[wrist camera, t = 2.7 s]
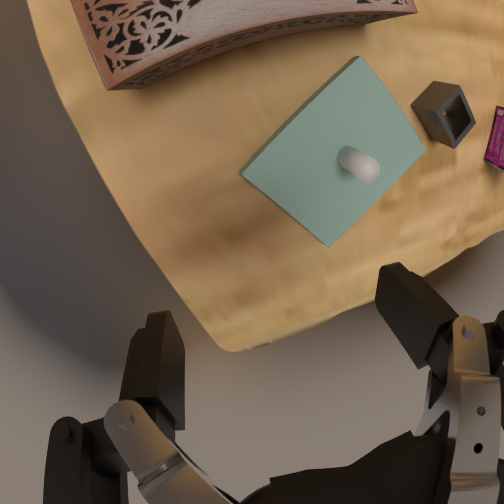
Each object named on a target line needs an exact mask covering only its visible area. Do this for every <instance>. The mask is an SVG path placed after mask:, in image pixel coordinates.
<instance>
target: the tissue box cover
mask: <svg viewBox="0 0 504 504" xmlns="http://www.w3.org/2000/svg"><path fill="white" fill-rule="evenodd" d="M71 3H72V6H73V9H74V12H75V14H76V17H77V20H78V23H79V25H80V28H81V31H82V33H83V36H84V38H85V41H86V43H87V46H88V48H89V51H90V53H91V56H92V58H93V61H94V63H95V65H96V68H97V70H98V72H99V75H100V77H101V79H102V82H103V84H104V86H105V88H106V91H108V90H124V89H141V88H142V87H144V86H146V85H148V84H150V83H152V82H154V81H156V80H158V79H160V78H162V77H164V76H167V75H169V74H171V73H173V72H175V71H178V70H180V69H182V68H184V67H187V66H189V65H192V64H194V63H197V62H199V61H202V60H204V59H207V58H210V57H212V56H215V55H218V54H221V53H224V52H227V51H230V50H233V49H236V48H239V47H242V46H246V45H249V44H253V43H256V42H260V41H264V40H268V39H272V38H276V37H280V36H285V35H289V34H294V33H299V32H305V31H311V30H317V29H324V28H332V27H340V26H351V25H365V24H369V23H372V22H376V21H380V20H385V19H389V18H394V17H399V16H404V15H409V14H415V13H418V11H417V9H416V6H415V3H414V1H413V0H71Z"/></svg>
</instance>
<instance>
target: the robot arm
mask: <svg viewBox="0 0 504 504" xmlns="http://www.w3.org/2000/svg"><path fill="white" fill-rule="evenodd" d="M375 303H376V307H377V310H378V311H379V313H380V314H381V316H382V317H383V318H384V320H385V321H386V323H387V324H388V326H389V327H390V328H391V330H392V331H393V333H394V334H395V335H396V337H397V338H398V340H399V341H400V343H401V344H402V346H403V347H404V348H405V350H406V352H407V353H408V355H409V356H410V358H411V359H412V361H413V362H414V364H415V365H416V367H417V368H418V369H421V368H423V367H425V366H427V365H429V366H430V368H431V369H430V371H429V374H428V383H427V391H426V398H425V405H424V411H423V416H422V418H421V421H420V422H419V424H418V427H417V429H416V432H415V436H413V434H412V432H411V430H410V431H408V432H406V433H404V434H402V435H400V436H398V437H396V438H394V439H392V440H389V441H387V442H385V443H383V444H381V445H379V446H378V447H376V448H375V449H373V450H372V451H371V452H369V453H368V454H366V455H365V456H363V457H362V458H360V459H359V460H357V461H356V462H354V463H353V464H351V465H349V466H345V467H337V468H325V469H310V470H309V469H308V470H304V471H300V472H296V473H291V474H287V475H282V476H277V477H272V478H270V484H268V485H266V486H263V487H262V488H260V489H258V490H256V491H254V492H253V493H251V494H250V495H248V496H247V497H246V498H245V499H244V500H242V501H241V502H239V501H238V500H237V499H236V498H235V497H233V496H232V495H231V494H230V493H228V492H227V491H226V490H225V489H224V488H223V487H221V486H220V485H219V484H218V483H217V482H216V481H214V480H213V479H212V478H211V477H209V475H208V474H207V473H205V472H204V471H203V470H202V469H201V468H200V467H199V466H198V465H197V464H196V463H195V462H194V461H193V460H192V459H191V458H190V457H189V456H188V454H187V453H186V452H185V451H184V450H183V449H182V448H181V447H180V446H179V445H178V444H177V443H176V442H175V430H185V408H184V407H185V398H184V397H185V394H184V393H185V349H184V344H183V340H182V337H181V335H180V333H179V331H178V329H177V326H176V324H175V322H174V319H173V317H172V314H171V312H170V311H169V310H166V311H160V312H153V313H149V314H148V316H147V321H146V326H145V328H141V329H138V330H137V331H136V333H135V334H134V336H133V337H132V339H131V341H130V346H129V350H128V352H129V354H128V355H127V360H126V362H127V363H126V365H125V369H124V375H123V380H122V385H121V391H120V397H119V401H118V402H116V403H114V404H113V405H112V406H111V407H110V408H109V409H108V410H107V412H106V414H105V416H104V418H101V419H97V420H94V421H91V422H87V423H83V424H81V423H80V422H79V421H77V420H76V419H75V418H73V417H63V418H60V419H59V420H57V421H56V422H55V423H54V425H53V427H52V429H51V432H50V437H49V444H48V451H47V458H46V467H45V477H44V491H43V492H44V494H43V504H129V503H128V483H127V472H129V471H132V472H133V474H134V475H135V477H136V478H137V479H138V482H139V484H138V489H139V491H140V493H141V494H142V496H143V497H144V498H145V500H146V501H147V502H148V503H149V504H504V460H503V459H500V458H498V456H499V446H500V431H501V426H502V428H503V430H504V365H503V362H504V310H503V311H501V312H500V313H499V314H498V316H497V318H496V320H495V322H491V323H485V324H481V323H480V321H479V320H477V319H476V318H474V317H471V316H466V315H465V316H459V315H458V314H457V313H456V312H455V311H454V310H453V309H452V308H451V306H450V305H449V304H448V303H447V302H446V301H445V300H444V299H443V298H442V297H441V296H440V295H439V294H438V293H436V291H435V290H434V289H433V288H432V287H430V285H429V284H428V283H427V282H426V281H425V280H424V279H423V278H422V277H421V276H419V275H417V274H415V273H413V272H412V271H411V272H409V271H408V270H407V269H406V268H405V267H404V266H403V265H402V264H401V263H400V262H396V263H392V264H388V265H384V266H382V267H381V268H380V270H379V277H378V283H377V289H376V295H375Z"/></svg>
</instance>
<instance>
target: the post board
mask: <svg viewBox="0 0 504 504" xmlns="http://www.w3.org/2000/svg"><path fill="white" fill-rule="evenodd" d="M424 151H425V148H424V147H423V145H422V143H421V141H420V139H419V138H418V136H417V134H416V133H415V131H414V129H413V128H412V126H411V124H410V123H409V121H408V120H407V118H406V116H405V115H404V113H403V112H402V110H401V109H400V107H399V106H398V104H397V103H396V101H395V100H394V98H393V97H392V96H391V94H390V93H389V91H388V90H387V89H386V87H385V86H384V85H383V83H382V82H381V81H380V79H379V78H378V77H377V75H376V74H375V73H374V72H373V70H372V69H371V68H370V67H369V65H368V64H367V63H366V62H365V60H364V59H363V58H362V57H361V56H355V57H353V58H352V59H351V60H350V61H349V62H348V63H346V64H345V65H344V66H343V67H342V68H341V69H340V70H339V71H338V72H337V73H335V74H334V75H333V76H332V77H331V78H330V79H329V80H328V81H327V82H326V83H325V84H324V85H323V86H322V87H320V88H319V89H318V90H317V91H316V92H315V93H314V94H313V95H312V96H311V97H310V98H309V99H308V100H307V101H306V102H305V103H304V104H303V105H302V106H301V107H300V108H299V109H298V110H297V111H296V112H295V113H294V114H293V115H292V116H291V117H290V118H289V119H288V120H287V121H286V122H285V123H284V124H283V125H282V126H281V127H280V128H279V129H278V130H277V131H276V132H275V133H274V134H273V135H272V136H271V137H270V138H269V140H268V141H267V142H266V143H265V144H264V145H263V146H262V147H261V148H260V149H259V150H258V151H257V152H256V153H255V154H254V156H253V157H252V158H251V159H250V160H249V161H248V162H247V163H246V164H245V165H244V166H243V168H242V169H241V170H240V173H241V175H242V176H243V177H244V178H246V179H247V180H248V181H250V182H251V183H252V184H253V185H255V186H256V187H257V188H258V189H260V190H261V191H262V192H263V193H264V194H266V195H267V196H268V197H269V198H271V199H272V200H273V201H274V202H275V203H277V204H278V205H279V206H280V207H282V208H283V209H284V210H285V211H286V212H288V213H289V214H290V215H291V216H292V217H293V218H295V219H296V220H297V221H298V222H299V223H301V224H302V225H303V226H304V227H305V228H306V229H308V230H309V231H310V232H311V233H312V234H313V235H315V236H316V237H317V238H318V239H319V240H320V241H321V242H323V243H324V244H325V245H326V246H327V247H328V248H329V247H330V246H331V245H332V244H333V243H334V242H335V241H336V240H337V239H338V238H339V237H340V236H341V235H342V234H343V233H344V232H345V231H346V230H348V229H349V228H350V227H351V226H352V225H353V224H354V223H355V222H356V221H357V220H358V219H359V218H360V217H361V216H362V215H363V214H364V213H365V212H366V211H367V210H368V209H369V208H370V207H371V206H372V205H373V204H374V203H375V202H376V201H377V200H378V199H379V198H380V197H381V196H382V195H383V194H384V193H385V192H386V191H387V190H388V189H389V188H390V187H391V186H392V185H393V184H394V183H395V182H396V181H397V180H398V179H399V178H400V176H401V175H402V174H403V173H404V172H405V171H406V170H407V169H408V168H409V167H410V166H411V165H412V164H413V163H414V162H415V161H416V160H417V158H418V157H419V156H420V155H421V154H422V153H423V152H424Z"/></svg>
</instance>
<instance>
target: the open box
mask: <svg viewBox="0 0 504 504" xmlns="http://www.w3.org/2000/svg"><path fill="white" fill-rule="evenodd" d="M411 106H412V108H413V110H414V111H415V113H416V115H417V116H418V118H419V120H420V121H421V123H422V125H423V127H424V128H425V130H426V132H427V134H428V136H429V137H430V139H432V140H435V141H437V142H440V143H442V144H444V145H446V146H449V147H451V148H453V149H455V148H456V147H457V145H458V144H459V143H460V142H461V141H462V139H463V138H464V137H465V136H466V135H467V133H468V132H469V131H470V130H471V128H472V127H473V126H474V125H475V123H476V122H475V119H474V117H473V114H472V112H471V109H470V107H469V105H468V102H467V100H466V98H465V96H464V94H463V91H462V89H461V87H460V85H455V84H449V83H443V82H437V81H433V82H432V83H431V84H430V85H429V86H428V87H427V88H426V89H425V90H424V92H423V93H422V94H421V95H420V96H419V97H418V98H417V99H416V100H415V101H414V102H413V103H412V104H411ZM444 111H446V113H447V114H446V115H445V116H444V115H443V112H444Z"/></svg>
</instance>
